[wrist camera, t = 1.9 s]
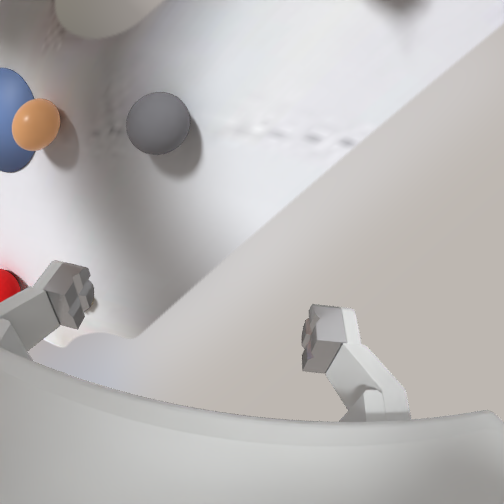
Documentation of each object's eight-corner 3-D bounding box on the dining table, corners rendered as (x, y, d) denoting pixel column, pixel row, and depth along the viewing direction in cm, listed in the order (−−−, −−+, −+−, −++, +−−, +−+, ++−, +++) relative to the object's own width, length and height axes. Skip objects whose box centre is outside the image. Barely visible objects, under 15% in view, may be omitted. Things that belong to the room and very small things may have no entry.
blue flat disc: (-34, 78, 22) (-35, 79, 22) (34, 58, 22) (33, 58, 22) (-20, 171, 31) (-21, 171, 31) (46, 172, 31) (45, 173, 31)
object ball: (31, 95, 25) (-2, 110, 21) (68, 90, 25) (35, 105, 21) (36, 139, 28) (6, 160, 24) (72, 139, 28) (42, 159, 24)
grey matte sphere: (141, 87, 25) (114, 99, 21) (198, 88, 25) (181, 100, 21) (141, 140, 28) (117, 162, 24) (195, 144, 28) (179, 167, 24)
